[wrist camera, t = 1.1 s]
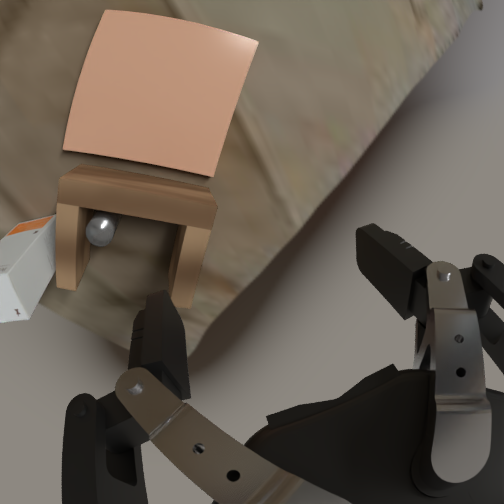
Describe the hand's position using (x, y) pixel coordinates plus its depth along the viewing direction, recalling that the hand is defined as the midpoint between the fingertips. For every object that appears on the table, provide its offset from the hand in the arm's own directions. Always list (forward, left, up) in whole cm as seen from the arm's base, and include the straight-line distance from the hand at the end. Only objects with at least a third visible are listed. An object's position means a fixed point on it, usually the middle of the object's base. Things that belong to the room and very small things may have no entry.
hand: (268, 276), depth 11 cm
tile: (-7, +7, -18) cm, 21 cm away
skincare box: (-17, -9, -18) cm, 26 cm away
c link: (-6, -6, -18) cm, 20 cm away
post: (-9, -5, -18) cm, 21 cm away
